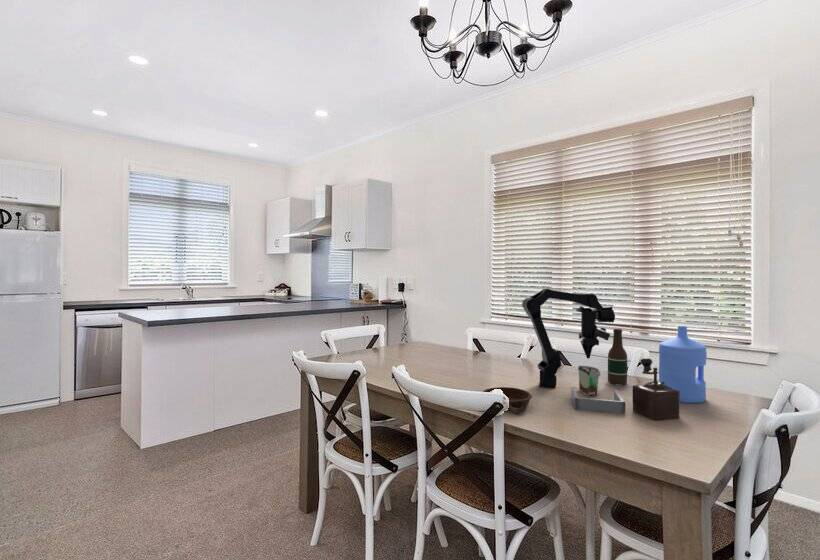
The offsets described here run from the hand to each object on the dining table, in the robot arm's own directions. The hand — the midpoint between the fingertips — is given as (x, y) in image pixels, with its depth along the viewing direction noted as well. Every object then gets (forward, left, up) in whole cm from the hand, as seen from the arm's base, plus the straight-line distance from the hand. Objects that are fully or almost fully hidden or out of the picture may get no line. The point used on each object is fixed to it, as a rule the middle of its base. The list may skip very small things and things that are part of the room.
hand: (588, 358), depth 181 cm
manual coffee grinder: (+17, -30, -12) cm, 37 cm away
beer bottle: (+13, +9, -12) cm, 20 cm away
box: (0, -26, -12) cm, 29 cm away
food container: (0, -11, -12) cm, 17 cm away
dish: (-32, -37, -12) cm, 51 cm away
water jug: (+33, -8, -12) cm, 36 cm away
